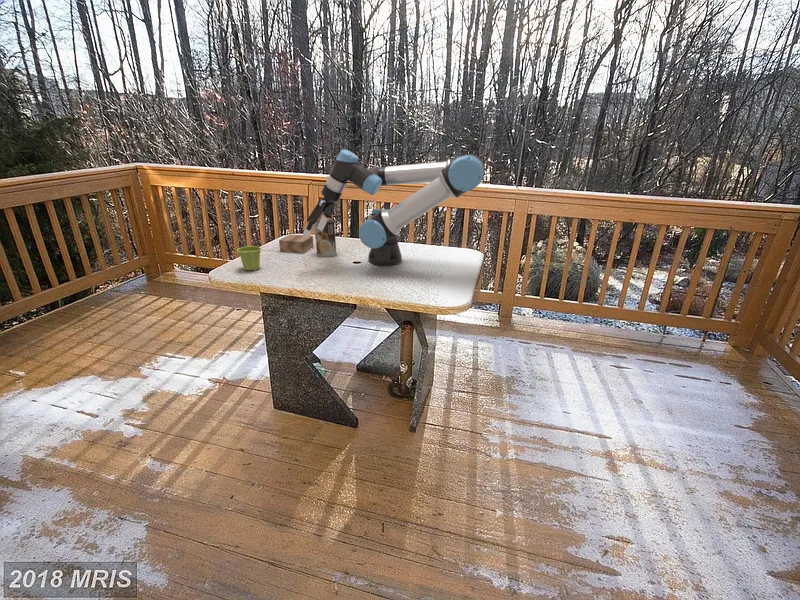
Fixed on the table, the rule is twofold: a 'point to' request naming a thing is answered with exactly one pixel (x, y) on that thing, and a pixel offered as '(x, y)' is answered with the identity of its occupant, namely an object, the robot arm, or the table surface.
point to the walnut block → (296, 244)
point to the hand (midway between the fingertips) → (312, 232)
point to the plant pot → (250, 257)
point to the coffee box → (325, 239)
